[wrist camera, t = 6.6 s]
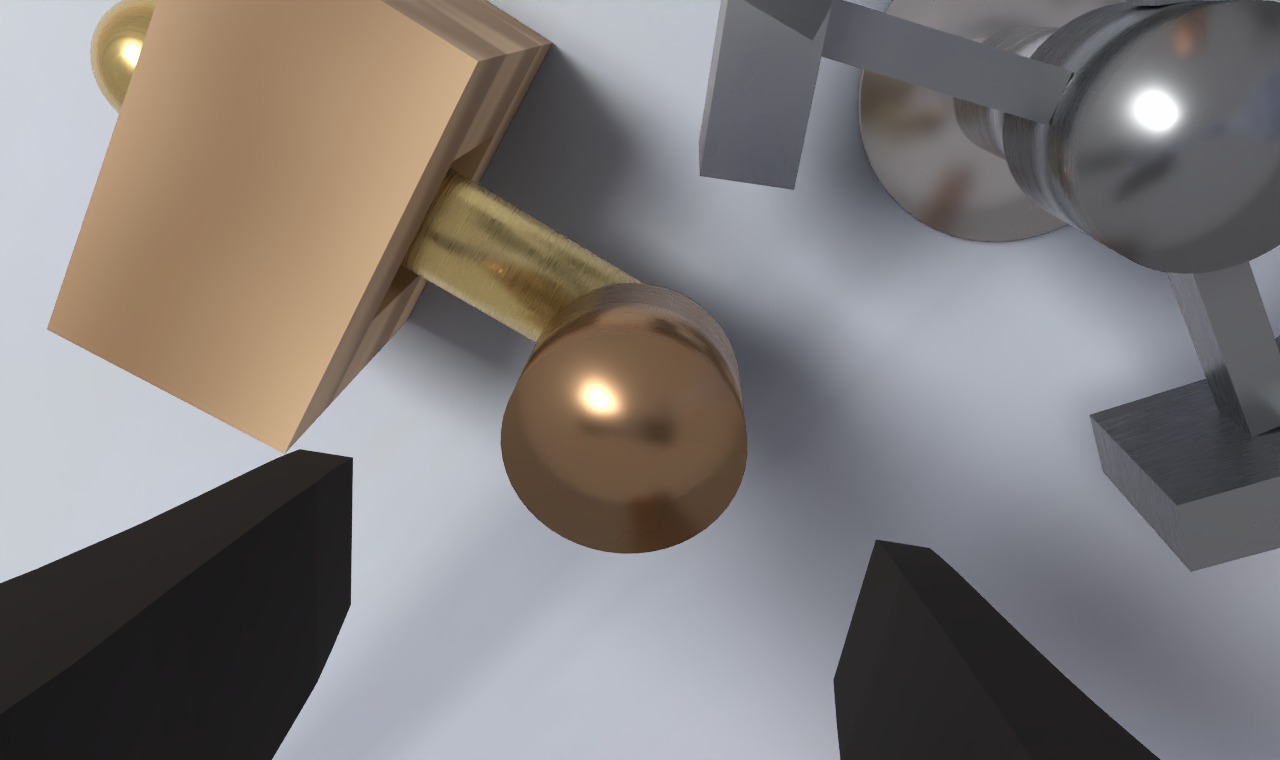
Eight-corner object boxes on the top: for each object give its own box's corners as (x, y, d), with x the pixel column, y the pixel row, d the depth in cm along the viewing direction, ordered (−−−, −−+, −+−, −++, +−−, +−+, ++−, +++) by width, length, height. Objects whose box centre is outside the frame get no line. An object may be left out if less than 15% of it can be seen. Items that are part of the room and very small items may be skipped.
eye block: (552, 43, 18) (477, 60, 12) (406, 320, 20) (284, 453, 14) (372, -72, 17) (196, -116, 11) (245, 230, 19) (47, 328, 13)
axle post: (1238, 35, 17) (1411, 45, 13) (1026, 289, 19) (1116, 365, 15) (991, -149, 16) (1093, -203, 12) (798, 141, 18) (829, 180, 14)
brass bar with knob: (767, 295, 17) (796, 416, 12) (671, 431, 19) (663, 590, 14) (177, -66, 15) (-80, -103, 10) (118, 113, 17) (-138, 160, 12)
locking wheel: (1162, 520, 16) (1341, 716, 11) (619, 77, 13) (583, 111, 9) (1755, 41, 12) (2345, 61, 8) (1166, -681, 10) (1546, -1237, 5)
